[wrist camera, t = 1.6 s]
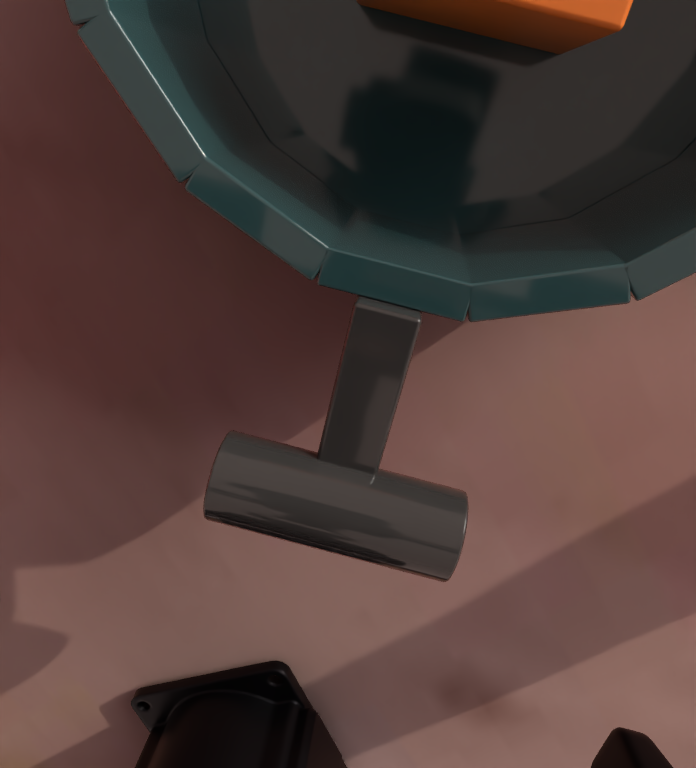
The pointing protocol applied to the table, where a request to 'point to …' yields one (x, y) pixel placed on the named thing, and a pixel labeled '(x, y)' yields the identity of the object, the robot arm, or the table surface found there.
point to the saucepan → (408, 206)
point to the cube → (520, 19)
